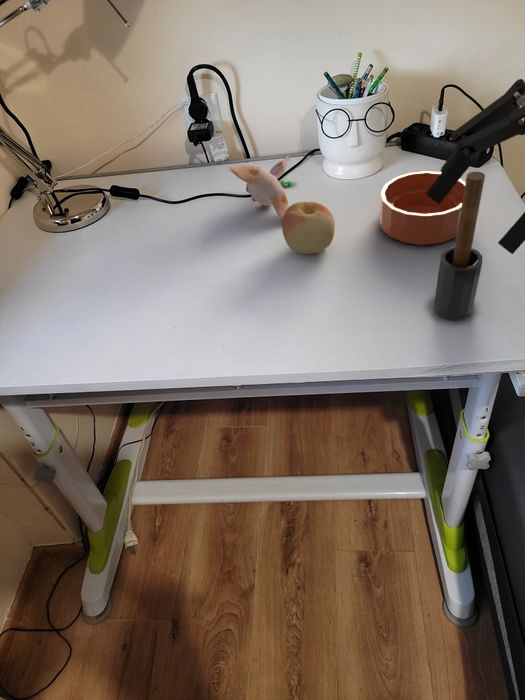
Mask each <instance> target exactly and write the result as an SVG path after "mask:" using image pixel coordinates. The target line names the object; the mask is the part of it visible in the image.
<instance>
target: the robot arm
mask: <svg viewBox="0 0 525 700" xmlns="http://www.w3.org/2000/svg"><path fill="white" fill-rule="evenodd" d="M524 135H525V80H524V79H523V78H519V79H517V80H515V82H514V83H513V84H512V85H511V86H510V87H509V88H508V89H507V91H505V93H504V94H502V95H501V96H499V98H497V99H496V100H494V101H493V102H492V103H490V104H489V105H488V106H487V107H485V108H484V109H482V110H481V111H479V112H478V113H476V114H475V115H474V116H472V117H471V118H470V119H469V120H467V121H466V122H465V123H463V124H461V126H459V127H457V128H456V129H455V130H454V131H452V132H451V134H450V139H451V141H452V142H453V144H454V145H455V149H454V151H453V152H452V153H451V154H450V156H449V157H448V158H447V160H445V163H444V164H443V165H442V166H441V168H440V171H439V172H442V173H441V174H440V175H439V177H438V178H437V179H436V181H435V182H434V183H433V184H432V186H431V187H430V188H429V190H428V191H427V192H426V195H427V196H428V197H430V198H431V199H432V200H434V201H435V202H436V203H438V204H440V203H441V202H442V201H443V199H444V198H445V197H446V195H447V194H448V193H449V192H450V190H451V189H452V188H453V187H454V185H455V184H456V183H457V182H458V180H459V179H461V178H462V177H463V175H464V174H465V173H466V171H467V170H468V169H469V168H470V167H471V165H472V164H473V162H474V161H473V156H475V155H477V154H479V153H482V152H484V151H486V150H488V149H490V148H492V147H495V146H497V145H499V144H501V143H503V142H506V141H508V140H510V139H512V138H515V137H516V136H524ZM524 242H525V211H524V212H523V213H522V214H521V215H520V216H519V218H518V219H517V220H516V221H515V223H514V224H513V225H512V226H511V227H510V228H509V229H508V230H507V232H506V233H505V234H504V235H503V236H502V238H501V239H500V240H499V241H498V242H497V244H498V245H500V247H502V248H503V249H504V250H506V251H507V252H509V253H510V254H511V255H513V254H514V253H515V252H516V251H517V250H518V249H519V248H520V247H521V246H522V245H523V243H524Z"/></svg>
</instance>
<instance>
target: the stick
mask: <svg viewBox="0 0 525 700" xmlns="http://www.w3.org/2000/svg"><path fill="white" fill-rule="evenodd" d="M485 178H486V175H485V173H484V172H481V171H470V172H468V173H467V174H466V177H465V181H464V182H465V189H464V195H463V201H462V207H461V213H460V219H459V226H458V232H457V236H456V237H455V238H456V239H455V245H454V247H455V250H454V257H453V263H452V265H454V266H456V267H468V263H469V258H470V253H471V248H472V249H473V241H474V237H475V230H476V227H477V221H478V217H479V216H478V215H479V211H480V205H481V199H482V195H483V191H484V184H485Z"/></svg>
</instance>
